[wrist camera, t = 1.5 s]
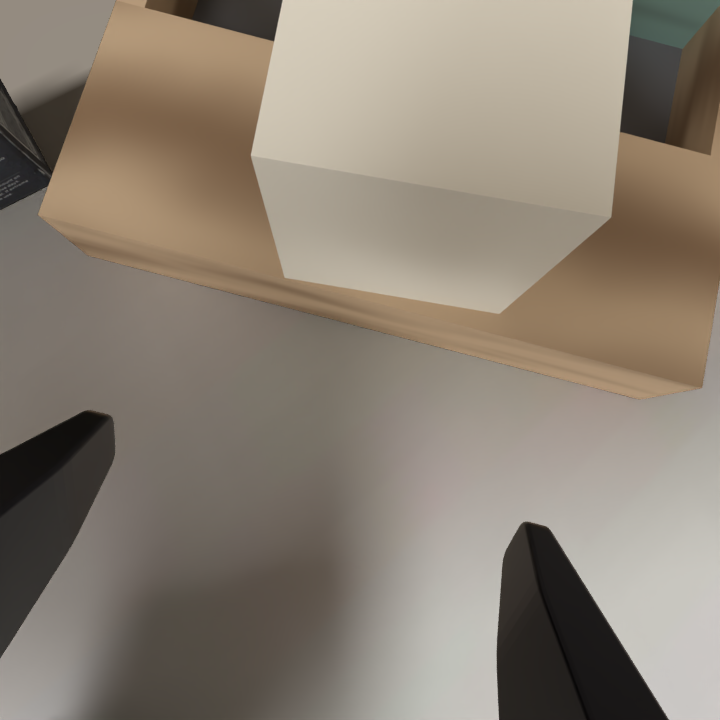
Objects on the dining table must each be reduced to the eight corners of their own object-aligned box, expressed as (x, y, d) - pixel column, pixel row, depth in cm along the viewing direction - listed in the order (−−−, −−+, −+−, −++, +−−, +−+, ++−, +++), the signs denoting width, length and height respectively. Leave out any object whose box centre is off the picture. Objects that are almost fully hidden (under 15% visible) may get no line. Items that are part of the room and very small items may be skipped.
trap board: (639, 399, 23) (702, 388, 19) (87, 255, 23) (37, 214, 19) (729, -97, 27) (796, -191, 23) (253, -222, 27) (239, -338, 23)
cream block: (499, 314, 20) (611, 217, 12) (284, 277, 19) (250, 155, 12) (527, 90, 21) (646, -134, 13) (326, 54, 21) (322, -193, 13)
